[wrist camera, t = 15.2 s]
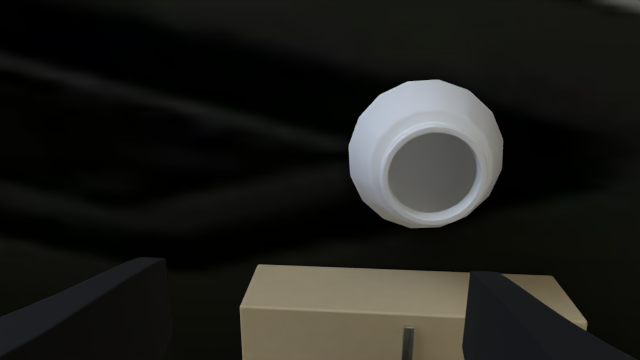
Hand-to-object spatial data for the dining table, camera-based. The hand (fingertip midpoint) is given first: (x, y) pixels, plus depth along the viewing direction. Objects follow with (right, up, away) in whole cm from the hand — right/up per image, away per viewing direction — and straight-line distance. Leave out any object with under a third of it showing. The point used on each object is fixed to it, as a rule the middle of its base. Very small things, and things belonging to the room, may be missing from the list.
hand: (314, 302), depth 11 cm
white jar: (+4, +4, +6) cm, 8 cm away
